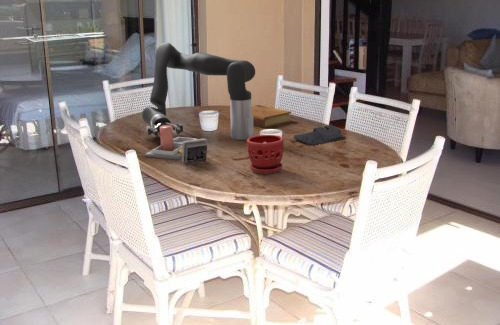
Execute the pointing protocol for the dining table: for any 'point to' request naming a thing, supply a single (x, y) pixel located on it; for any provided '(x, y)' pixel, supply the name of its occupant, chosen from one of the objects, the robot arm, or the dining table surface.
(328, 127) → the dark slate chunk
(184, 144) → the electrical switch
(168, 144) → the pink cylinder
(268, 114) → the diary
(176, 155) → the grey compartment tray
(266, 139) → the plant pot
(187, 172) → the dining table surface
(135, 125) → the dining table surface
